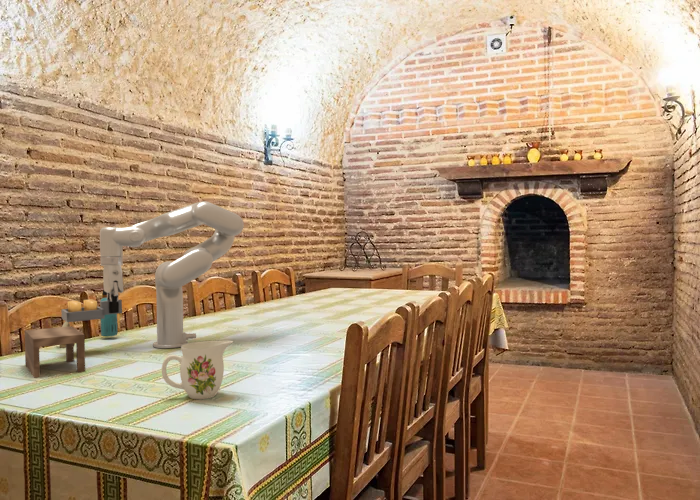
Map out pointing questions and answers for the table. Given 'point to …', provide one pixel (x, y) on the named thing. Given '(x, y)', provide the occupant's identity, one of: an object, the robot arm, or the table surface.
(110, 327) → the beverage bottle
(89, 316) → the tray
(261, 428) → the table surface
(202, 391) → the pitcher
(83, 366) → the brown wooden footstool
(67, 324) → the chocolate bunny
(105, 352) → the table surface
